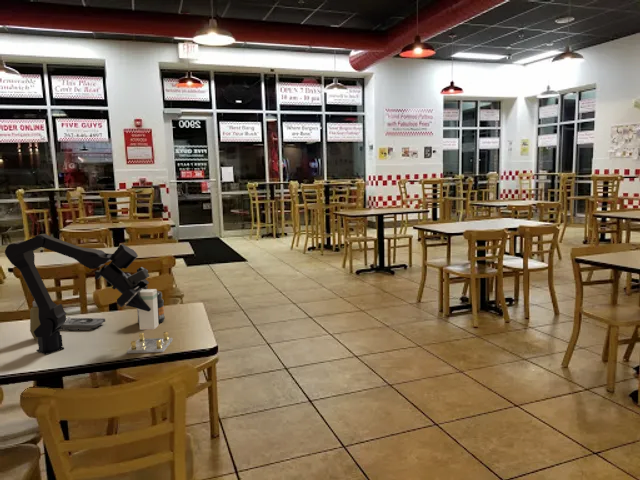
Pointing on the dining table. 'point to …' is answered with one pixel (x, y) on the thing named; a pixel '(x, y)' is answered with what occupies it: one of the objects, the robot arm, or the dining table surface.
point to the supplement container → (160, 307)
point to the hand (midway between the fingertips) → (152, 308)
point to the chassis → (149, 344)
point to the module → (150, 318)
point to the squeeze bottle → (34, 319)
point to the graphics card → (82, 323)
